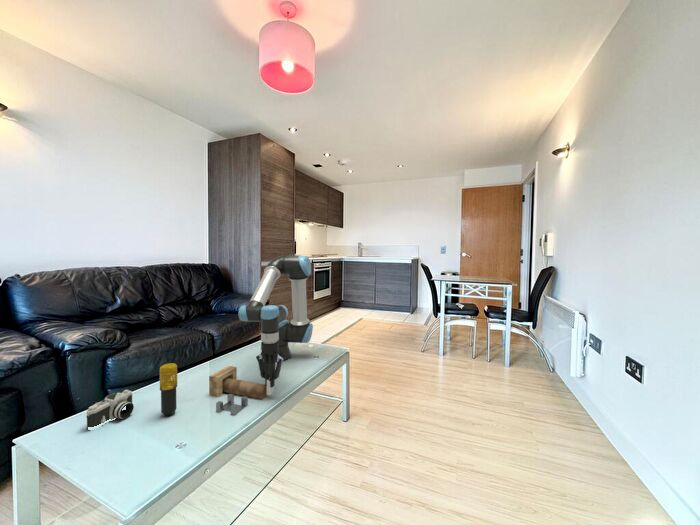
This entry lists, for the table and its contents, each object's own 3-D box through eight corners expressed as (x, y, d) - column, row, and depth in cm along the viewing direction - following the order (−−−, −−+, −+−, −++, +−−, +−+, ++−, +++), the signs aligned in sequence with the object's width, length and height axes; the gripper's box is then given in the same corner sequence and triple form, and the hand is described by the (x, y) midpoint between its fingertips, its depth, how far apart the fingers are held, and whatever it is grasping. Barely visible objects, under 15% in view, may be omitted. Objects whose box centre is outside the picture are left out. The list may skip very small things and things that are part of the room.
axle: (216, 393, 128) (216, 380, 128) (225, 387, 134) (225, 375, 134) (260, 401, 121) (261, 388, 121) (268, 395, 127) (268, 382, 127)
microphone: (151, 408, 114) (150, 361, 114) (181, 411, 113) (180, 362, 112) (139, 417, 109) (138, 366, 108) (170, 419, 107) (169, 368, 107)
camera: (100, 434, 98) (100, 407, 98) (81, 431, 100) (81, 403, 100) (142, 409, 114) (142, 385, 114) (125, 407, 116) (125, 383, 115)
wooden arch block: (209, 395, 126) (209, 375, 125) (228, 383, 137) (228, 365, 137) (218, 397, 124) (218, 377, 124) (236, 385, 136) (236, 367, 135)
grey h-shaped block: (230, 402, 120) (230, 393, 120) (247, 406, 117) (247, 396, 117) (216, 412, 112) (216, 403, 112) (234, 416, 110) (234, 406, 110)
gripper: (252, 342, 121) (252, 395, 122) (278, 345, 117) (278, 400, 118) (262, 337, 128) (262, 387, 129) (287, 340, 124) (287, 391, 125)
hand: (269, 393), depth 123 cm, fingers closed
